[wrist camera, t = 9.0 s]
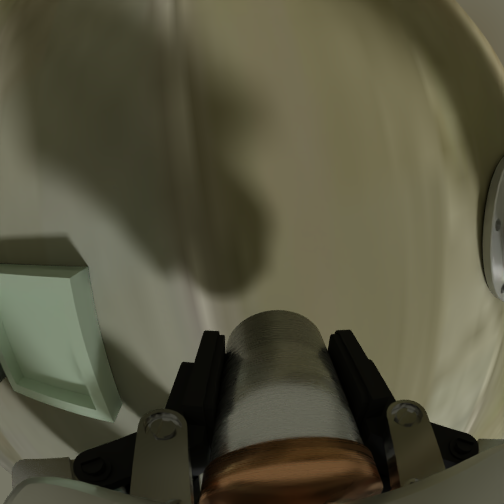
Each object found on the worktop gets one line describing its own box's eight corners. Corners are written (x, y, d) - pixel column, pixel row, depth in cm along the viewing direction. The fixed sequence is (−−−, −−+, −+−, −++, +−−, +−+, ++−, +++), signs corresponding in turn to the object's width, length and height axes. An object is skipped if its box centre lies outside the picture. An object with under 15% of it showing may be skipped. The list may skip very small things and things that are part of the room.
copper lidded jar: (332, 306, 10) (412, 455, 3) (317, 387, 11) (353, 520, 4) (221, 307, 10) (183, 475, 3) (225, 388, 11) (208, 530, 4)
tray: (88, 266, 13) (69, 278, 11) (122, 403, 15) (113, 422, 13) (-11, 263, 12) (-29, 270, 10) (24, 377, 14) (13, 390, 13)
